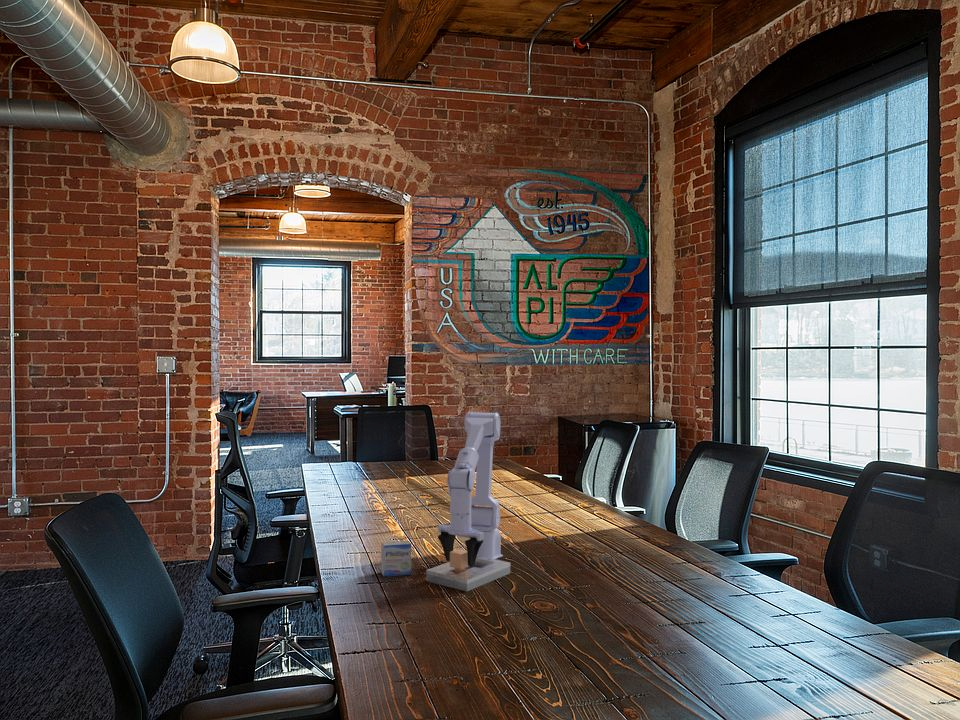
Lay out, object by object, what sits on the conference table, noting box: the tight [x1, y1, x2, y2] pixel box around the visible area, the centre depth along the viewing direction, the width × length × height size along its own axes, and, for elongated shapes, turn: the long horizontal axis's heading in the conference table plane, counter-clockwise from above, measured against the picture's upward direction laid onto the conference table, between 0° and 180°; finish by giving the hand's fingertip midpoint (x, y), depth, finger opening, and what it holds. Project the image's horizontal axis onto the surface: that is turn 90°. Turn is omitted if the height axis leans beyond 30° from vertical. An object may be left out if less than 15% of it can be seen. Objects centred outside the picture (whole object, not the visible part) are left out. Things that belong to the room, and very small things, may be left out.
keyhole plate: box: [425, 556, 511, 592], centre depth 207 cm, size 20×14×3 cm
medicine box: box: [380, 540, 412, 577], centre depth 210 cm, size 8×4×9 cm, turn 105°
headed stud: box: [449, 548, 469, 573], centre depth 204 cm, size 5×5×8 cm
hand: (460, 562), depth 204 cm, fingers open, 7 cm apart
